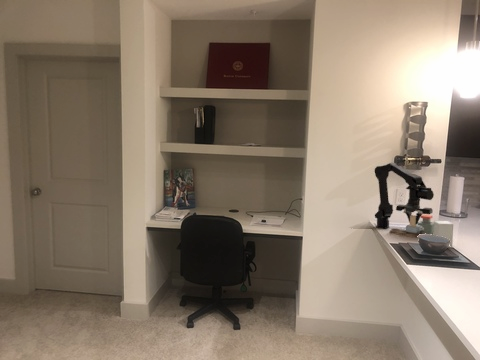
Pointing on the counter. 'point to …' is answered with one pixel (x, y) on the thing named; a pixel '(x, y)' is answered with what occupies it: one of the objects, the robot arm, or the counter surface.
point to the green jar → (427, 227)
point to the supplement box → (444, 229)
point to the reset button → (426, 218)
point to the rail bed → (405, 232)
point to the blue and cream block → (413, 225)
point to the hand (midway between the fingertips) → (413, 223)
